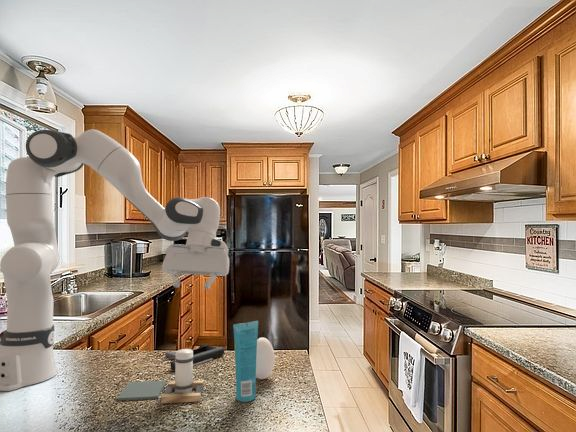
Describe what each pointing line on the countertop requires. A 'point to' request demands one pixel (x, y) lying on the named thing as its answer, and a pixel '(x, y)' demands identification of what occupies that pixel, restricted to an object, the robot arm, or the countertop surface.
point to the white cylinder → (183, 371)
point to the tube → (245, 359)
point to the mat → (142, 390)
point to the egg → (264, 358)
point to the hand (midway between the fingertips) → (191, 287)
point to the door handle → (199, 354)
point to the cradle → (185, 397)
